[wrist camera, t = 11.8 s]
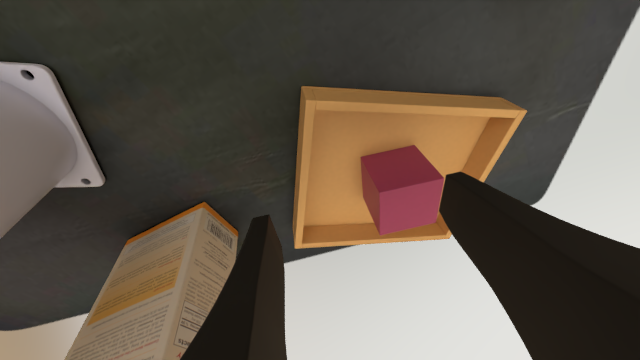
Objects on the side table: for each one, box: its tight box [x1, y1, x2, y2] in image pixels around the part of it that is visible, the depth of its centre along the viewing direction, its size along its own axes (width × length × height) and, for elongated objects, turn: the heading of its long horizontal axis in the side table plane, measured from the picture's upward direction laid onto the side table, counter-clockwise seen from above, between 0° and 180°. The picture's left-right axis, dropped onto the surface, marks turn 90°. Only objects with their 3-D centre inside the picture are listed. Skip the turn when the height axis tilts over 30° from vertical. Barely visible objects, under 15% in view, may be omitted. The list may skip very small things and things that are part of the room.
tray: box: [293, 86, 527, 249], centre depth 21 cm, size 15×13×3 cm
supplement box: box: [65, 202, 238, 360], centre depth 18 cm, size 8×5×13 cm, turn 115°
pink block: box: [361, 145, 444, 235], centre depth 20 cm, size 4×4×4 cm
